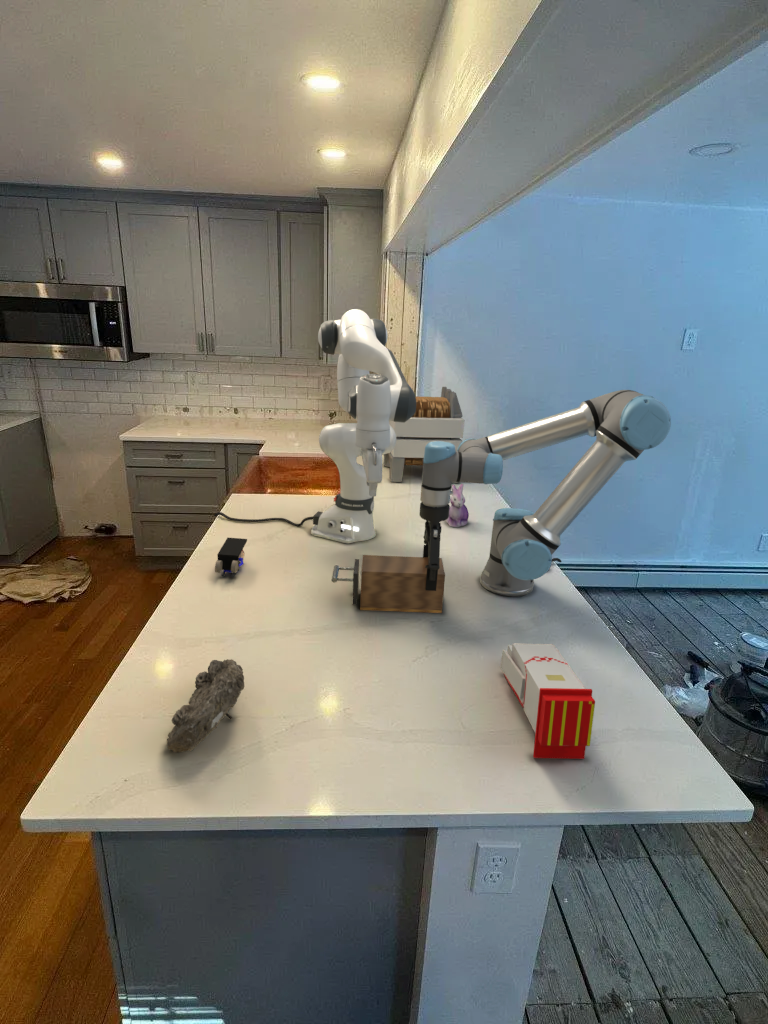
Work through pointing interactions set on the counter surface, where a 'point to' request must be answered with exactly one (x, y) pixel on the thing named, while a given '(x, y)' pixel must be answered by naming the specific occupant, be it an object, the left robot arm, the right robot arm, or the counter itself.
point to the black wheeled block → (230, 556)
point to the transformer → (425, 431)
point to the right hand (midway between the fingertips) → (428, 578)
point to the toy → (550, 699)
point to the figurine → (457, 508)
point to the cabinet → (399, 584)
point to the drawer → (354, 579)
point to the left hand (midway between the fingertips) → (371, 490)
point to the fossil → (206, 705)
